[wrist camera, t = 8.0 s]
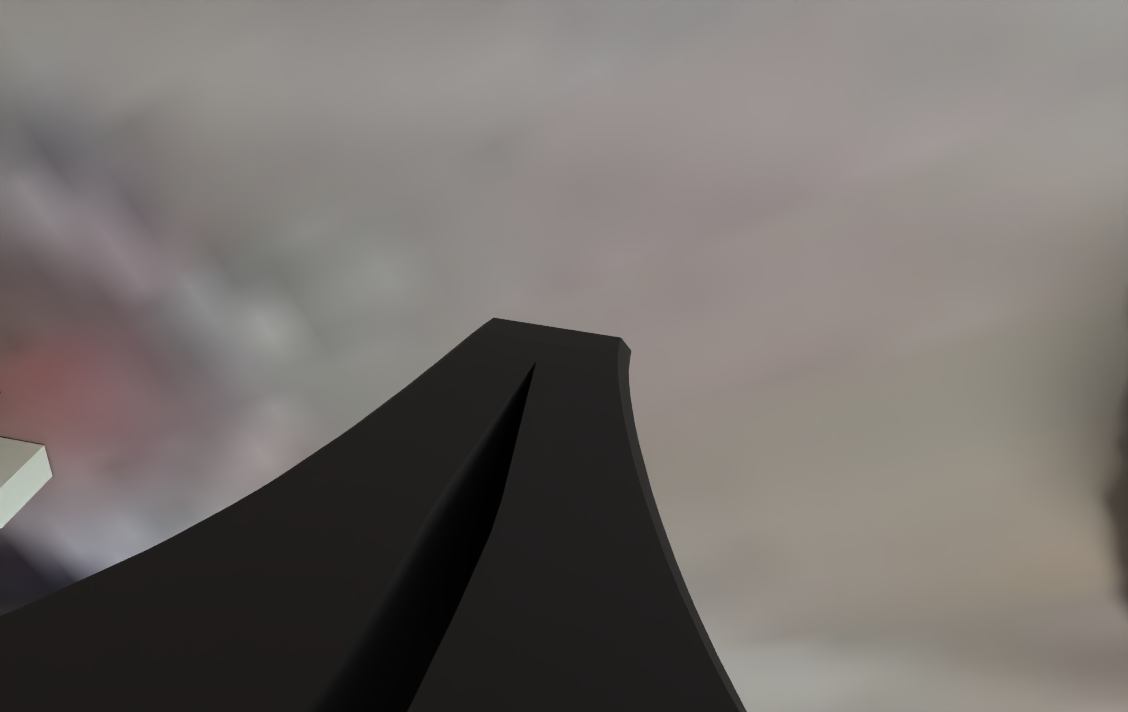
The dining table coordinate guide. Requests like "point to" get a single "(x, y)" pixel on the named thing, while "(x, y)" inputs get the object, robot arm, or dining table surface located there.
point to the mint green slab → (20, 475)
